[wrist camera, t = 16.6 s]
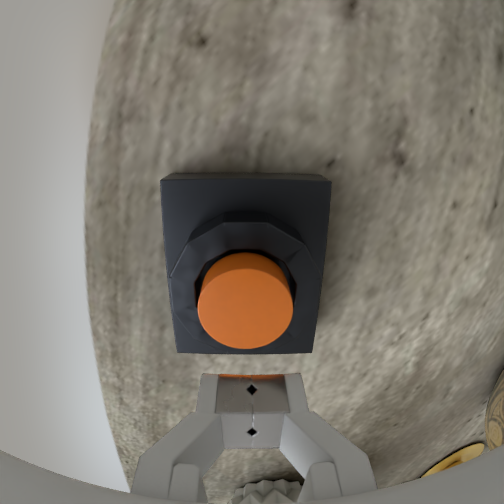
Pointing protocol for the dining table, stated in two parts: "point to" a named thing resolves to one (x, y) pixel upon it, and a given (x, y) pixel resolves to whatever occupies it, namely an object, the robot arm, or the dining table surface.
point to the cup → (457, 458)
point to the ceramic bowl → (495, 415)
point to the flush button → (245, 301)
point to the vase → (267, 493)
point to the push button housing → (245, 245)
